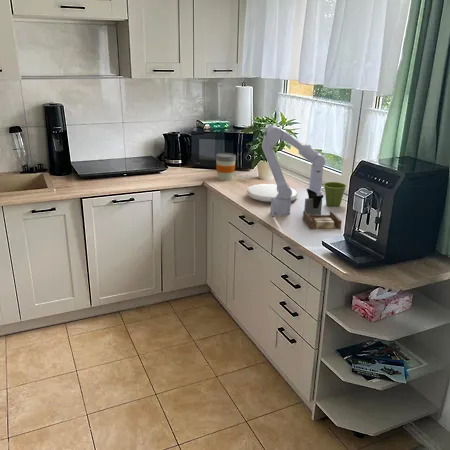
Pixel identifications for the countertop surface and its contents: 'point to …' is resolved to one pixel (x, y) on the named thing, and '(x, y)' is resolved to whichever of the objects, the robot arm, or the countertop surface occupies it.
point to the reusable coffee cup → (225, 165)
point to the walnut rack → (310, 218)
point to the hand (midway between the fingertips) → (313, 205)
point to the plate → (266, 192)
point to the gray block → (309, 206)
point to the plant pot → (334, 193)
